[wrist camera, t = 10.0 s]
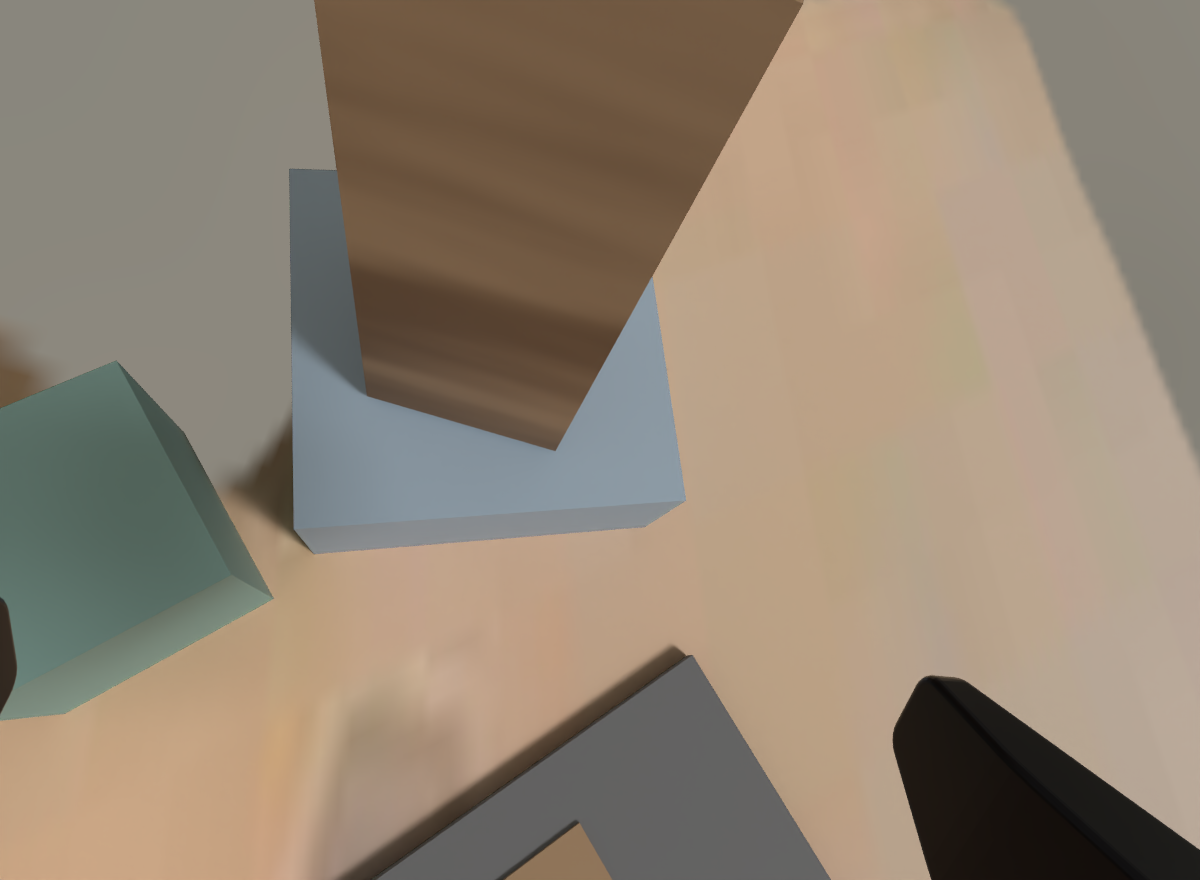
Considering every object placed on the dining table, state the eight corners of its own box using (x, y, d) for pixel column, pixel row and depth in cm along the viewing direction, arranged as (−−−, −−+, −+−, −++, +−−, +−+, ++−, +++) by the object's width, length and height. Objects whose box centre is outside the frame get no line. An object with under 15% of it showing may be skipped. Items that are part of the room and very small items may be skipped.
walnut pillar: (555, 450, 18) (803, 4, 7) (366, 395, 18) (288, -198, 6) (596, 293, 20) (850, -280, 8) (426, 238, 19) (449, -460, 8)
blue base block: (641, 529, 23) (685, 500, 19) (315, 556, 20) (293, 529, 17) (604, 255, 25) (637, 180, 21) (309, 251, 23) (289, 168, 19)
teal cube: (66, 713, 18) (-56, 726, 13) (-25, 528, 18) (-173, 479, 14) (274, 598, 20) (231, 575, 15) (184, 433, 20) (115, 360, 16)
